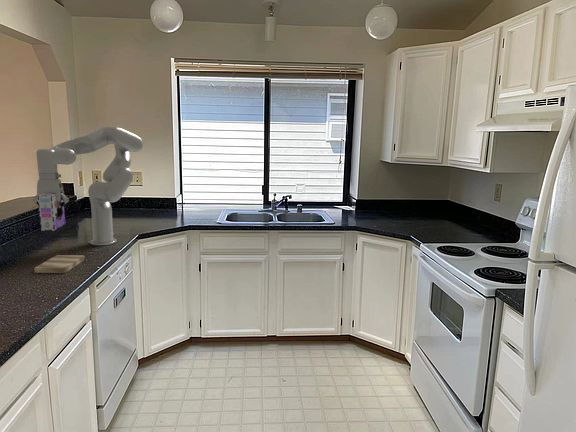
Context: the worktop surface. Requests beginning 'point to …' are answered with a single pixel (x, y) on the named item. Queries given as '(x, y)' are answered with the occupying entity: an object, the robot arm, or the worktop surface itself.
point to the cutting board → (59, 264)
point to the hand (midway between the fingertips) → (52, 215)
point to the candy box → (49, 212)
